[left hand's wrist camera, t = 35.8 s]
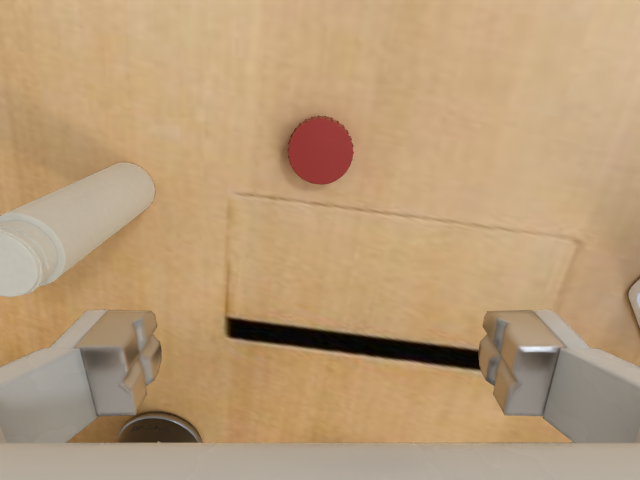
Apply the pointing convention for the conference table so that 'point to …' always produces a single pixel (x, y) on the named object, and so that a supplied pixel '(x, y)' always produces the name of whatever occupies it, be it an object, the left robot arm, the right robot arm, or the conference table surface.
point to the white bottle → (68, 225)
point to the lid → (320, 150)
